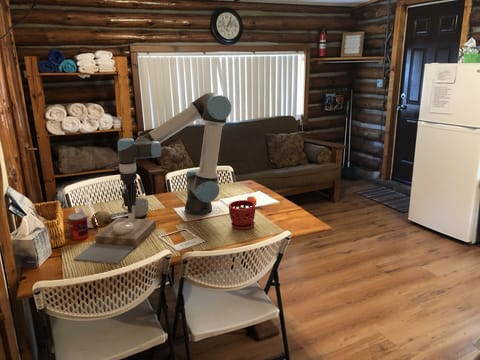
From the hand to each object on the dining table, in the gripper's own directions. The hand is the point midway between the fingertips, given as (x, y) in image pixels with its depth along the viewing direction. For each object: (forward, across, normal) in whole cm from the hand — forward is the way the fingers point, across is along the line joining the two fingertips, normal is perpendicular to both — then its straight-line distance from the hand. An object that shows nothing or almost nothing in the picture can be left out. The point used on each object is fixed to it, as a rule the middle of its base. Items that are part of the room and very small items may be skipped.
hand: (131, 218), depth 190 cm
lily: (+7, +4, -25) cm, 26 cm away
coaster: (+2, +9, 0) cm, 10 cm away
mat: (+6, +25, -1) cm, 26 cm away
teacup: (+6, -19, -7) cm, 21 cm away
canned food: (+7, +12, -21) cm, 25 cm away
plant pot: (+6, -14, +52) cm, 54 cm away
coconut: (+7, -6, -20) cm, 22 cm away
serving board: (+6, +6, 0) cm, 9 cm away
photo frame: (+7, +6, +27) cm, 29 cm away
